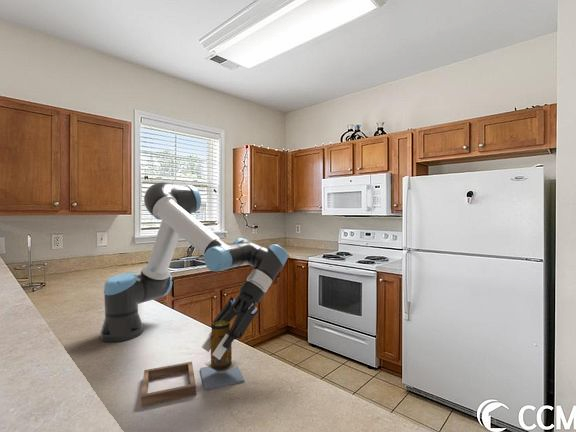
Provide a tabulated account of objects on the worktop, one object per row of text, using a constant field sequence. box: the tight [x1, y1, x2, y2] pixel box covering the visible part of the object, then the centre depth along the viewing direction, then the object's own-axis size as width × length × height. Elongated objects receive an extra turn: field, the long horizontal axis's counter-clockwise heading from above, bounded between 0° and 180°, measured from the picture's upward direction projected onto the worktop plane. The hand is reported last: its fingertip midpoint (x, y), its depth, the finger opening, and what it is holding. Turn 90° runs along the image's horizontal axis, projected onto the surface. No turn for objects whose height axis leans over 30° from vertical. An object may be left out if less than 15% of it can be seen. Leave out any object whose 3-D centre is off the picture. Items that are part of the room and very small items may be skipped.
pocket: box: [140, 361, 197, 408], centre depth 88 cm, size 14×13×2 cm
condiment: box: [204, 321, 242, 373], centre depth 92 cm, size 7×8×12 cm
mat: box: [199, 366, 245, 391], centre depth 94 cm, size 12×11×1 cm
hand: (210, 353), depth 91 cm, fingers closed on condiment, 6 cm apart
